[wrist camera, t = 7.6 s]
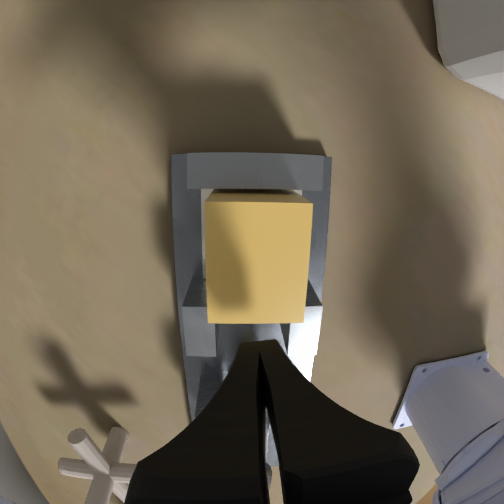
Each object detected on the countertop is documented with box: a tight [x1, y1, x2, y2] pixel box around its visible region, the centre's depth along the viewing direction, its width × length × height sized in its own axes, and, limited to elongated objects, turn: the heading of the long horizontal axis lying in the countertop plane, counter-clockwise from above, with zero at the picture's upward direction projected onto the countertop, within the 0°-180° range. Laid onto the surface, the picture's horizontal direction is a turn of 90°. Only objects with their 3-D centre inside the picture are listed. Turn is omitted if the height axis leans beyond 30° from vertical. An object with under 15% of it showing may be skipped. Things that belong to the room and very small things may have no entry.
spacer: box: [205, 189, 313, 324], centre depth 15 cm, size 4×5×6 cm
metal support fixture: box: [171, 152, 332, 466], centre depth 20 cm, size 9×27×5 cm, turn 179°
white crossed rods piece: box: [58, 427, 137, 504], centre depth 20 cm, size 10×10×10 cm
